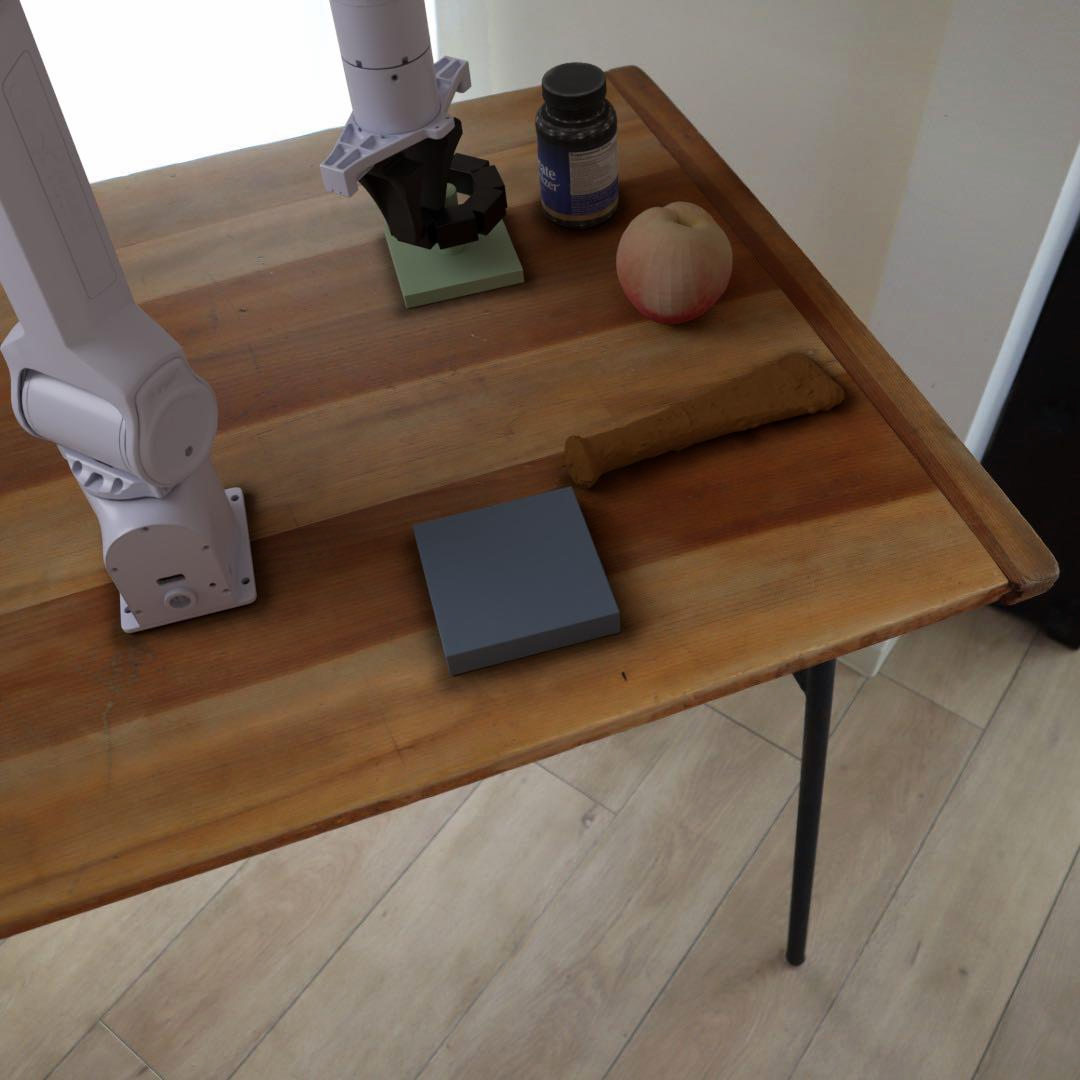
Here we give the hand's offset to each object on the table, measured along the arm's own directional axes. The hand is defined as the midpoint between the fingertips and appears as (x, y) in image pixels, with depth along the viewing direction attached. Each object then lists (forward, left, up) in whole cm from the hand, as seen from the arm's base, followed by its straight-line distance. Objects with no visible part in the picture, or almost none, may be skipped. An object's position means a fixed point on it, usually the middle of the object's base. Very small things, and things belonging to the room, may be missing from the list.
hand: (418, 227), depth 84 cm
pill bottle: (+5, -13, -5) cm, 15 cm away
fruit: (-9, -16, -5) cm, 19 cm away
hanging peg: (+2, -2, -5) cm, 6 cm away
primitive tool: (-21, -14, -5) cm, 26 cm away
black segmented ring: (+2, -2, -1) cm, 3 cm away
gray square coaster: (-30, +1, -5) cm, 30 cm away
